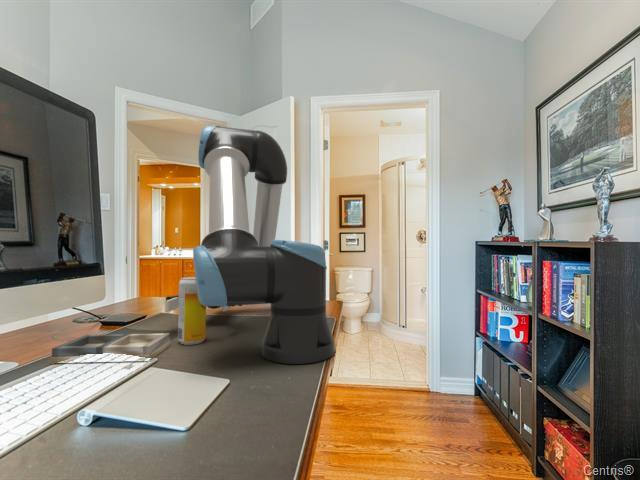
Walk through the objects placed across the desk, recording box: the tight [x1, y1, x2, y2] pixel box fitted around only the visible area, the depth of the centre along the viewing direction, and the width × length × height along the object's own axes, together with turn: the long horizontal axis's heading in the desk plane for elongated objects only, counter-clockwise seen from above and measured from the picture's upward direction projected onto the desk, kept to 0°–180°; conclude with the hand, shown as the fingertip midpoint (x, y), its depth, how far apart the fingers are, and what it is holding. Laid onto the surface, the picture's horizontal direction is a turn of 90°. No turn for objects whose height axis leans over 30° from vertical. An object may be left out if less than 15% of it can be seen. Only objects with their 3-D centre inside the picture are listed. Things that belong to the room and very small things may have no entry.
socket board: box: [49, 332, 171, 365], centre depth 67 cm, size 18×11×3 cm, turn 94°
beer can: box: [177, 276, 207, 346], centre depth 76 cm, size 6×6×15 cm
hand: (195, 306), depth 79 cm, fingers open, 13 cm apart
